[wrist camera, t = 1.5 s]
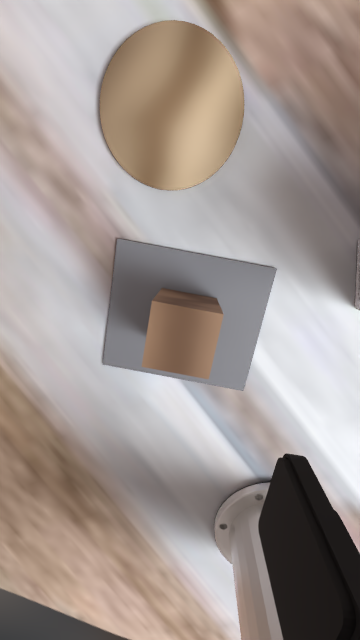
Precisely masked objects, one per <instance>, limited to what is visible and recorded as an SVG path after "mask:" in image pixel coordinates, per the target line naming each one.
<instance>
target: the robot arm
mask: <svg viewBox="0 0 360 640" xmlns="http://www.w3.org/2000/svg"><path fill="white" fill-rule="evenodd" d="M214 529H215V540H216V543H217V547H218V548H219V550H220V552H221V554H222V555H223V556H224V557H225V558H226V559H227V561H229V562H230V563H231V564H232V565H233V573H234V581H235V590H236V598H237V606H238V615H239V623H240V631H241V640H360V553H359V552H358V550H357V548H356V546H355V544H354V542H353V540H352V539H351V537H350V535H349V533H348V531H347V529H346V527H345V525H344V524H343V522H342V520H341V518H340V516H339V515H338V513H337V512H336V511H335V510H334V509H333V508H332V506H331V504H330V502H329V500H328V498H327V496H326V494H325V493H324V491H323V489H322V487H321V485H320V483H319V481H318V479H317V477H316V475H315V474H314V472H313V470H312V468H311V466H310V464H309V462H308V460H307V459H306V457H304V456H299V455H293V454H285V455H284V456H283V458H278V460H277V463H276V466H275V470H274V473H273V476H272V479H271V482H268V483H260V484H255V485H251V486H248V487H246V488H243V489H241V490H239V491H237V492H236V493H234V494H233V495H231V496H230V497H229V498H228V499H227V500H226V501H225V502H224V503H223V504H222V506H221V507H220V509H219V510H218V512H217V515H216V518H215V526H214Z"/></svg>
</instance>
